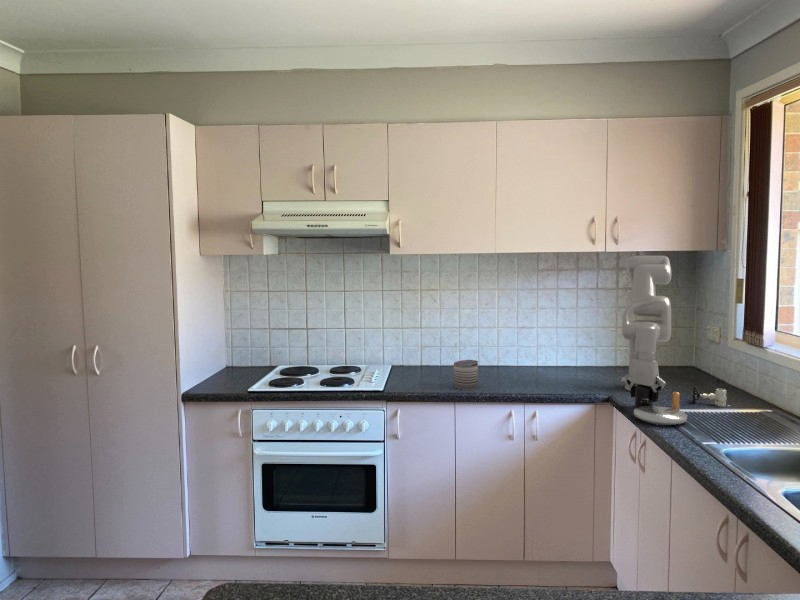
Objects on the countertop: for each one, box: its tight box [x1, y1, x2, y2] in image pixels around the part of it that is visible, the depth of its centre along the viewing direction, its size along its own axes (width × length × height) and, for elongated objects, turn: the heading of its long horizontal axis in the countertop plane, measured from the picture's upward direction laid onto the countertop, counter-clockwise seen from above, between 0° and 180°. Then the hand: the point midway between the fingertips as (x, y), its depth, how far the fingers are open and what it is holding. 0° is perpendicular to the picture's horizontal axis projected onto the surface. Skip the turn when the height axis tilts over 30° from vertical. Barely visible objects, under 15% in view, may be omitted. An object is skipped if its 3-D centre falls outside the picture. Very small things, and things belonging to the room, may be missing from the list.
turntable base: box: [639, 419, 674, 427], centre depth 209 cm, size 14×14×1 cm
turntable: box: [633, 391, 688, 425], centre depth 210 cm, size 22×18×7 cm
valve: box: [692, 386, 728, 407], centre depth 228 cm, size 7×7×12 cm
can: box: [453, 359, 479, 391], centre depth 261 cm, size 11×11×12 cm
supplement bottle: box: [634, 384, 654, 408], centre depth 224 cm, size 7×7×12 cm
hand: (644, 398), depth 224 cm, fingers open, 8 cm apart
